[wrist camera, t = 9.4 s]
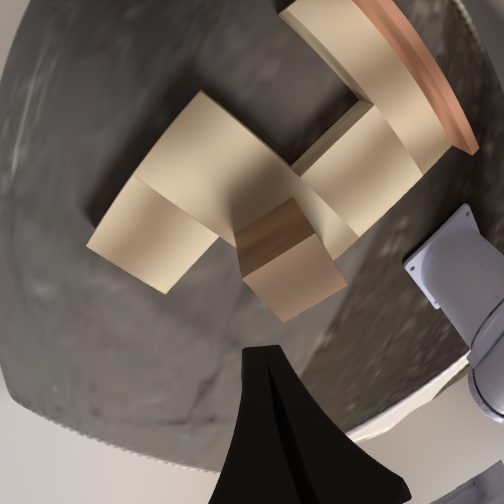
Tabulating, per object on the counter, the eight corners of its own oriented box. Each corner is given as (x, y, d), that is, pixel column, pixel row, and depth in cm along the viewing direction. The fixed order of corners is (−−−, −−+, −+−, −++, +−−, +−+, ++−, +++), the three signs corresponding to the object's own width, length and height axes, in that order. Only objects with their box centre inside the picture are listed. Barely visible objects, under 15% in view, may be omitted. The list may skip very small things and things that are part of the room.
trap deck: (441, 130, 18) (479, 147, 14) (241, 317, 24) (248, 357, 21) (324, -23, 12) (355, -40, 8) (95, 229, 18) (76, 265, 15)
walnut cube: (323, 244, 19) (347, 285, 16) (270, 277, 20) (283, 322, 17) (293, 196, 17) (315, 232, 14) (233, 235, 18) (242, 278, 15)
